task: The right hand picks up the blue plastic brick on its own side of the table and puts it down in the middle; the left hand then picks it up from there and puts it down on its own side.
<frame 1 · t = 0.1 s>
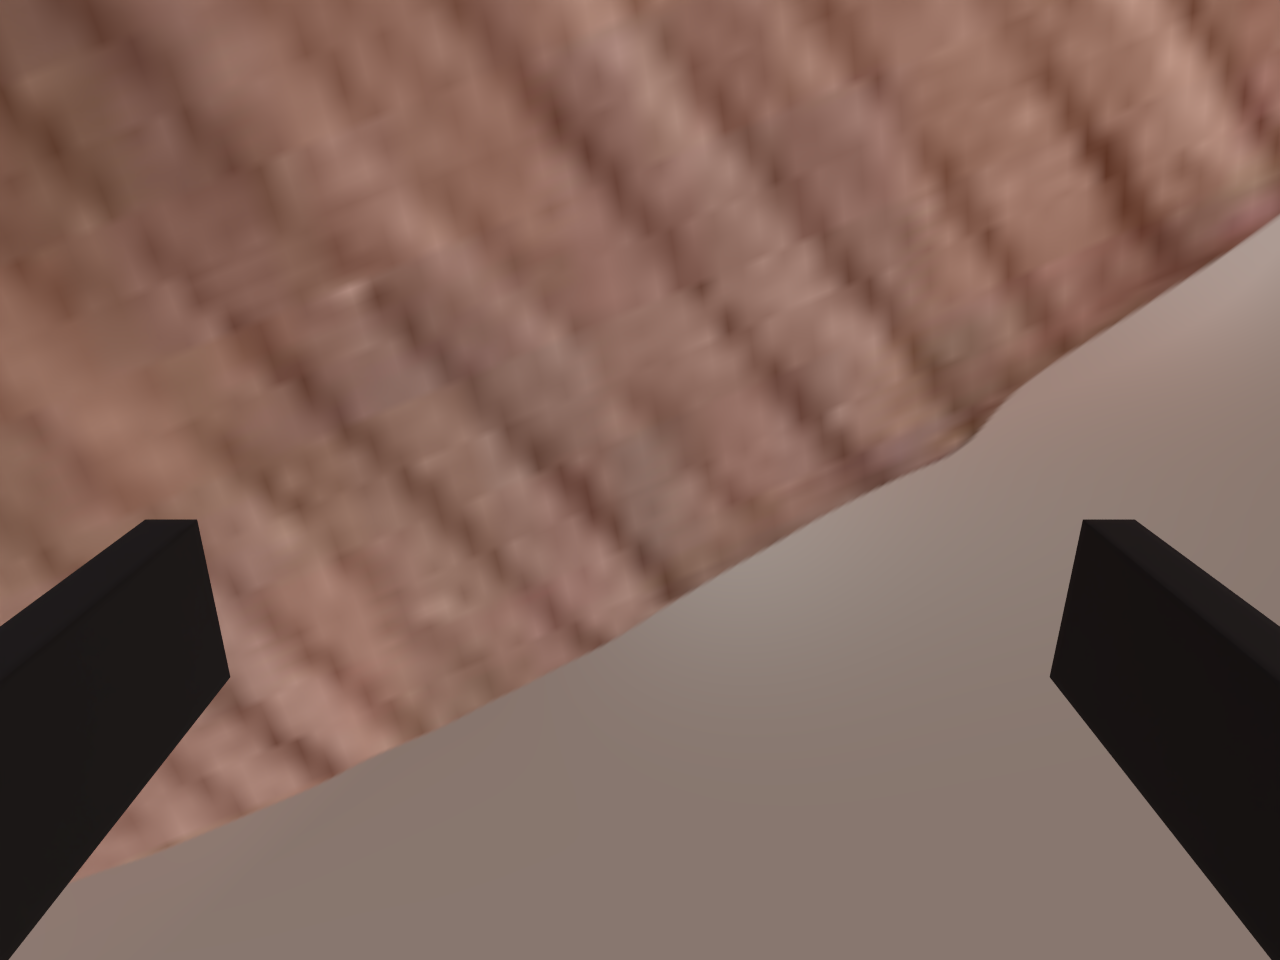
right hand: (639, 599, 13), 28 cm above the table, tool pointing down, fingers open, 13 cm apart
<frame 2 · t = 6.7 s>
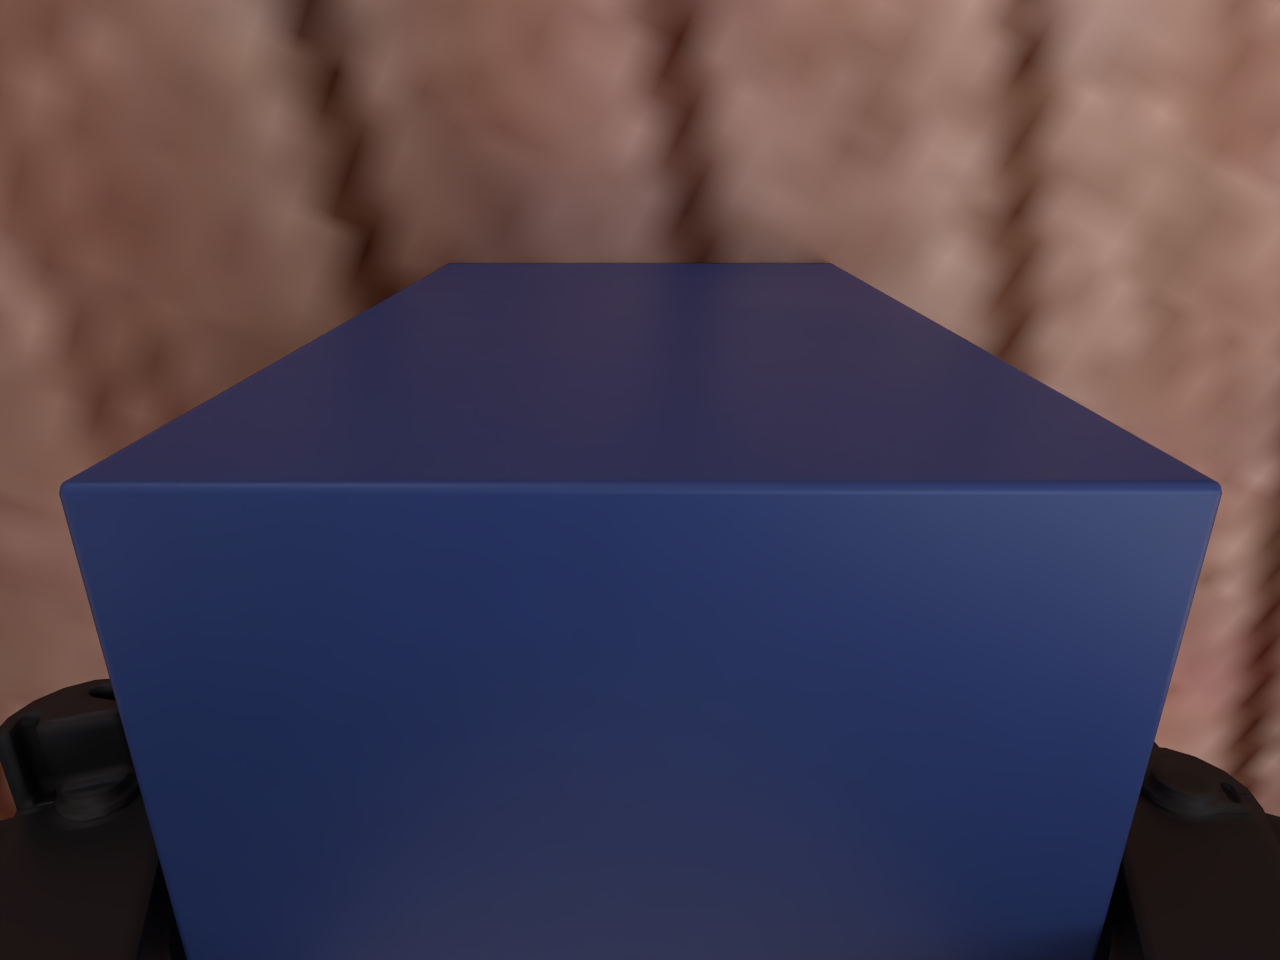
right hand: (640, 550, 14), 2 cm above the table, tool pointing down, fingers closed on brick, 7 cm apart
brick: (640, 506, 16), on the table, touching right hand
when the right hand's fingers open (3 cm above the table, at t = 18.2 s): brick drops 1 cm, on the table.
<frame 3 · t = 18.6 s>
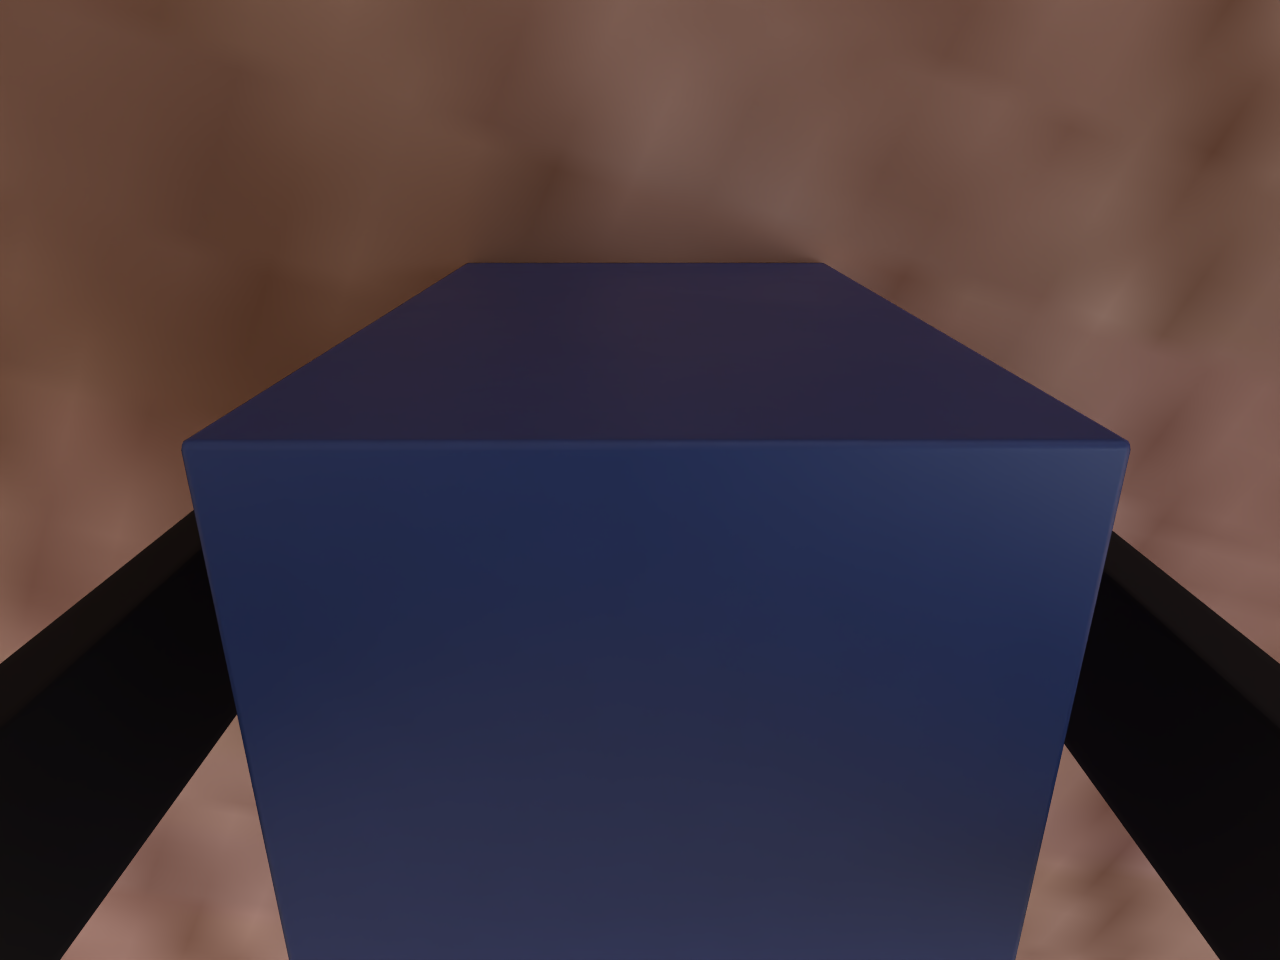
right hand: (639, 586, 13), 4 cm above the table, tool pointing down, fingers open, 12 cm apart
brick: (645, 490, 17), on the table
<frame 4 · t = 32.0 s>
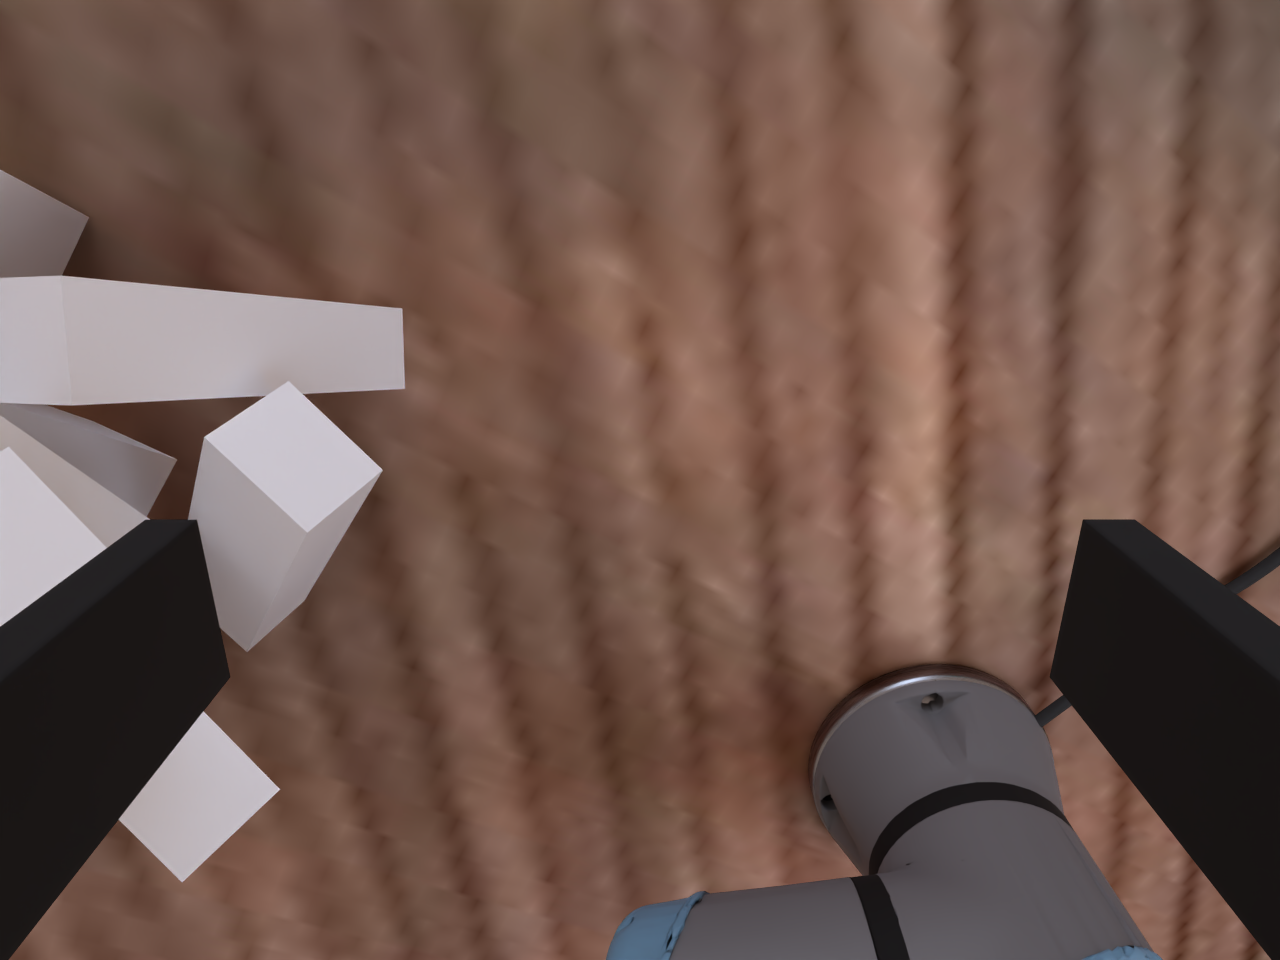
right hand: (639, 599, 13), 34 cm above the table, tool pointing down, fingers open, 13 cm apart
pile of blocks: (203, 455, 48), on the table
when the left hand's fingers open (3 cm above the table, at t = 36.7 s): brick stays where it is, on the table.
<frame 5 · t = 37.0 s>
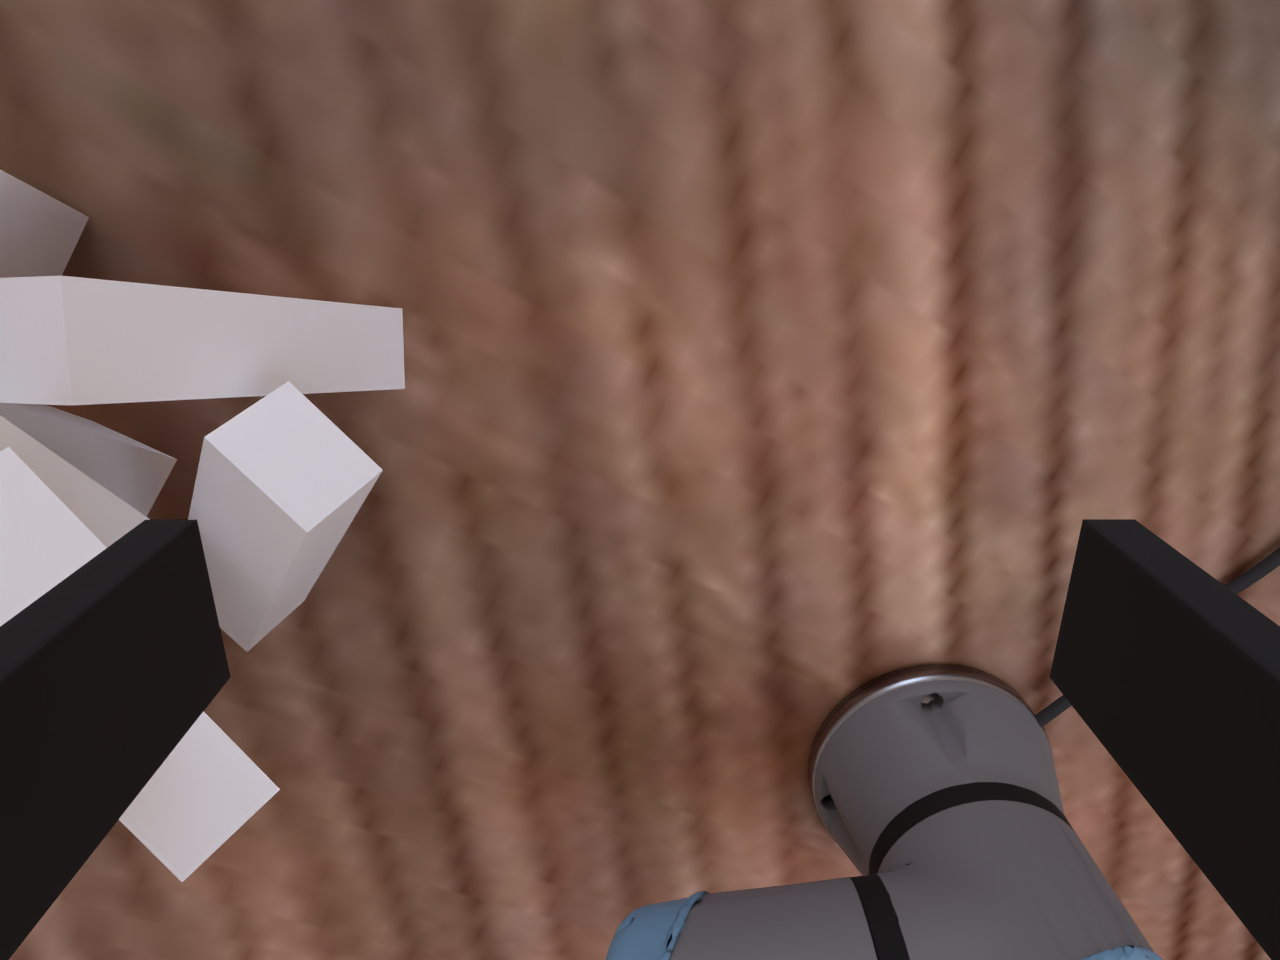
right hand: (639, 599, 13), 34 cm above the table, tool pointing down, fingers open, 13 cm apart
pile of blocks: (203, 455, 48), on the table
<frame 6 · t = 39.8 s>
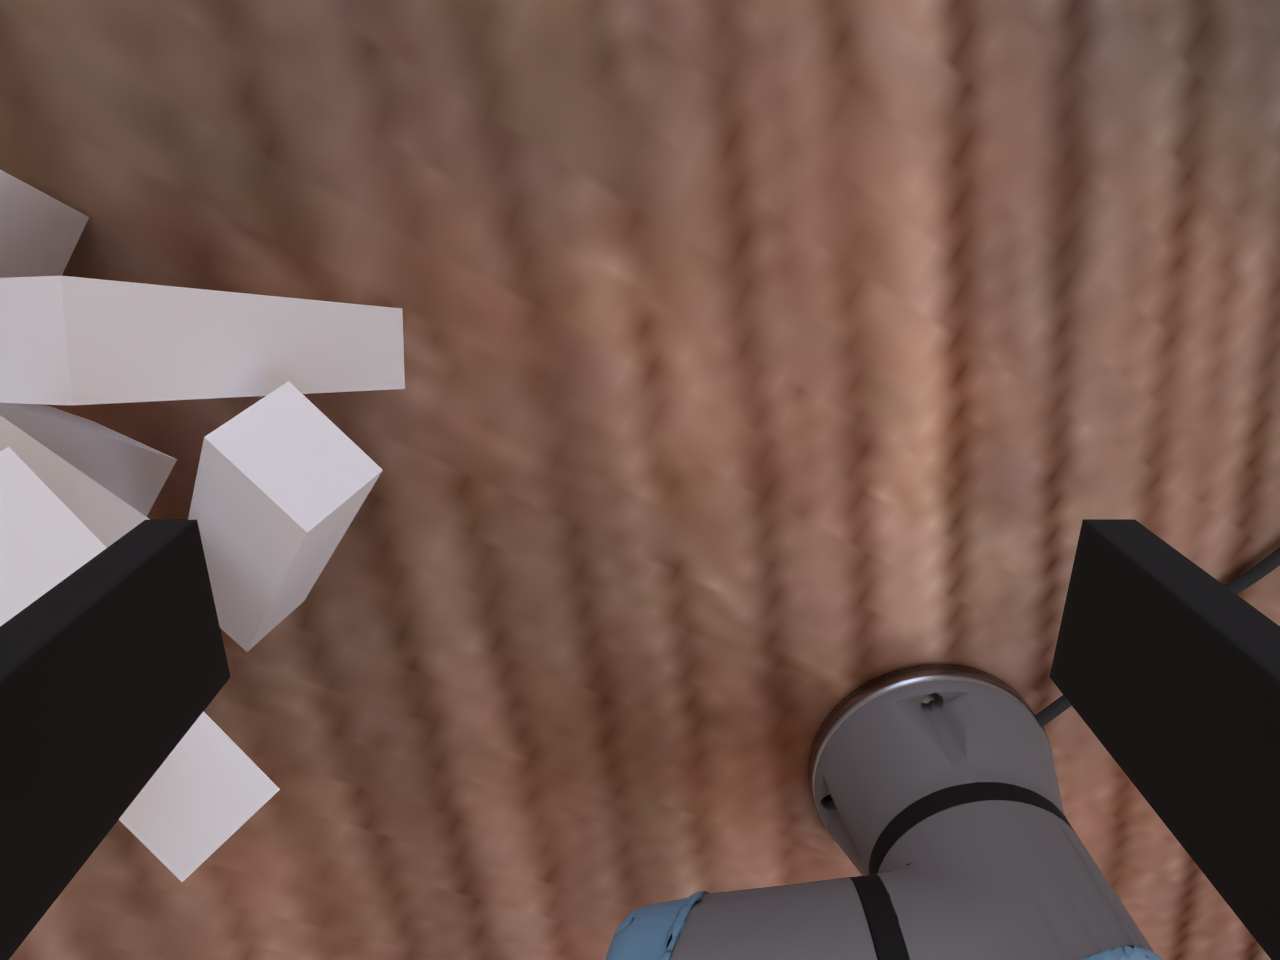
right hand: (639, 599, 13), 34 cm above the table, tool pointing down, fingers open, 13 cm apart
pile of blocks: (203, 455, 48), on the table
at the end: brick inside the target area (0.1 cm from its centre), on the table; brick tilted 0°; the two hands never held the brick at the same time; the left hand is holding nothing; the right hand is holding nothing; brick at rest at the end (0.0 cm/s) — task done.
